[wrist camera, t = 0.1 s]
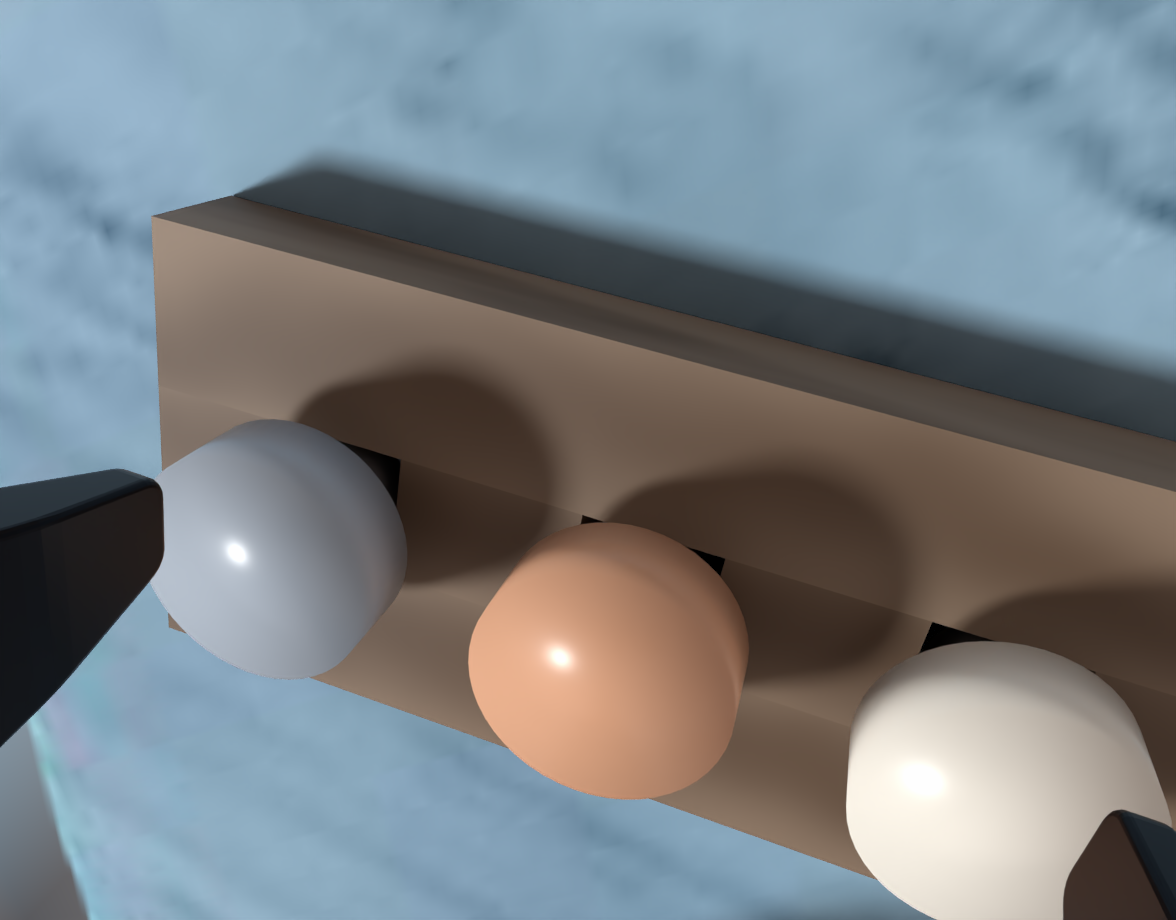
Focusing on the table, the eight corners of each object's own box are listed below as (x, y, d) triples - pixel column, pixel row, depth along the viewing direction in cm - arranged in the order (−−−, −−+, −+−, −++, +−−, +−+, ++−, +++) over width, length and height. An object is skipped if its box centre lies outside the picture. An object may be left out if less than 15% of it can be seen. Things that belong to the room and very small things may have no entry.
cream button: (1054, 794, 23) (1093, 976, 18) (825, 718, 24) (811, 874, 19) (1158, 609, 20) (1232, 770, 16) (897, 533, 21) (899, 665, 17)
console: (1081, 863, 25) (1104, 960, 23) (232, 574, 30) (169, 627, 27) (1318, 479, 20) (1383, 548, 17) (231, 195, 24) (151, 216, 22)
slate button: (448, 594, 25) (357, 711, 21) (265, 534, 26) (142, 634, 22) (471, 410, 23) (373, 499, 19) (268, 350, 24) (130, 423, 20)
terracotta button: (733, 688, 24) (698, 834, 20) (530, 621, 25) (454, 746, 21) (792, 503, 22) (768, 624, 17) (563, 436, 22) (485, 535, 18)
